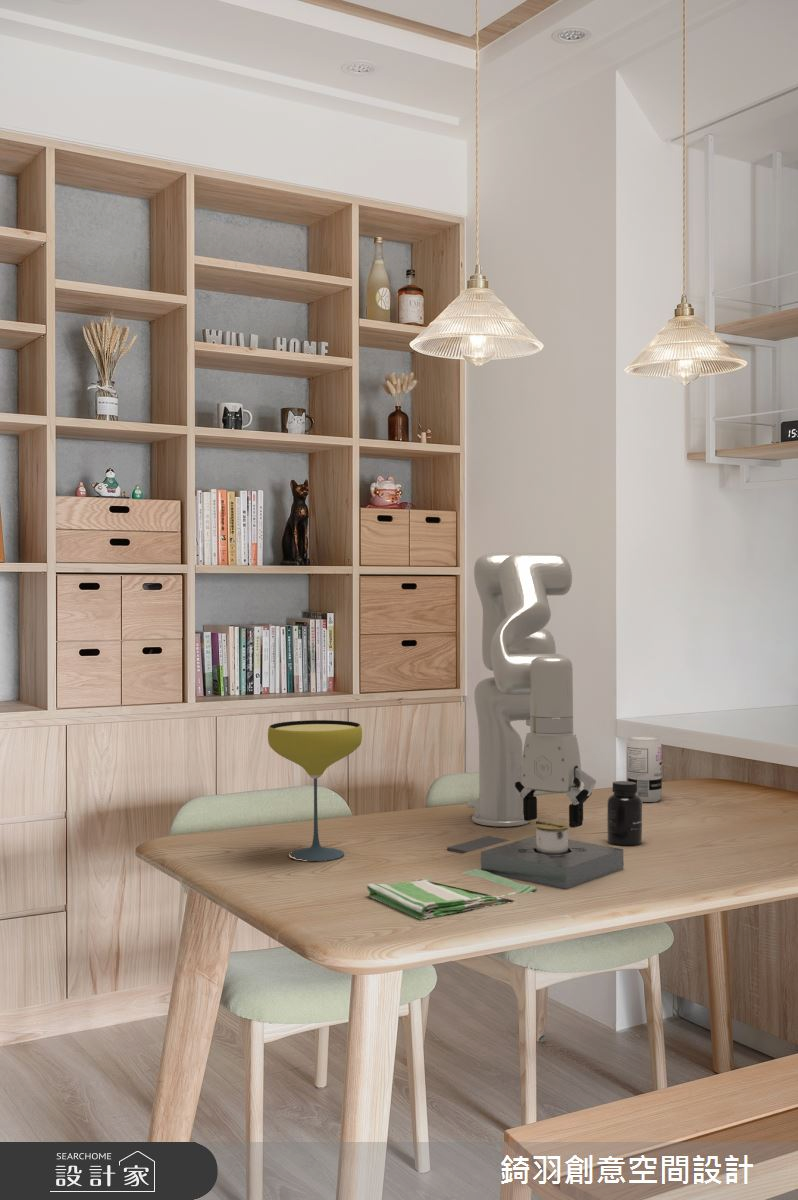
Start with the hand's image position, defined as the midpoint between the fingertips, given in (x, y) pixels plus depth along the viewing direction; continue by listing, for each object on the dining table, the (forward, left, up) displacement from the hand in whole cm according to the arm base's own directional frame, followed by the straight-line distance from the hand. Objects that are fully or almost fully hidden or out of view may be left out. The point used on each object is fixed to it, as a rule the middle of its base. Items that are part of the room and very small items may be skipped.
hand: (552, 823), depth 197 cm
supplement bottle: (-4, +31, -10) cm, 33 cm away
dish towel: (-5, -22, -10) cm, 25 cm away
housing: (0, 0, -9) cm, 9 cm away
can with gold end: (0, 0, -8) cm, 8 cm away
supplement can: (-24, +73, -10) cm, 78 cm away
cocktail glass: (-43, -17, -10) cm, 47 cm away
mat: (-20, +9, -9) cm, 24 cm away
